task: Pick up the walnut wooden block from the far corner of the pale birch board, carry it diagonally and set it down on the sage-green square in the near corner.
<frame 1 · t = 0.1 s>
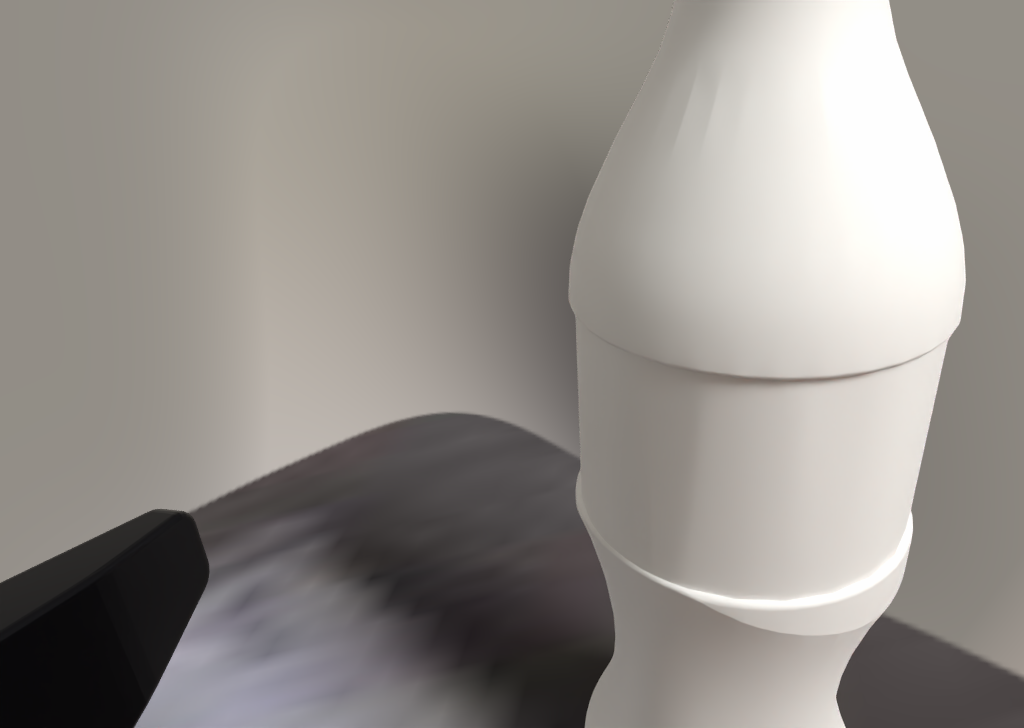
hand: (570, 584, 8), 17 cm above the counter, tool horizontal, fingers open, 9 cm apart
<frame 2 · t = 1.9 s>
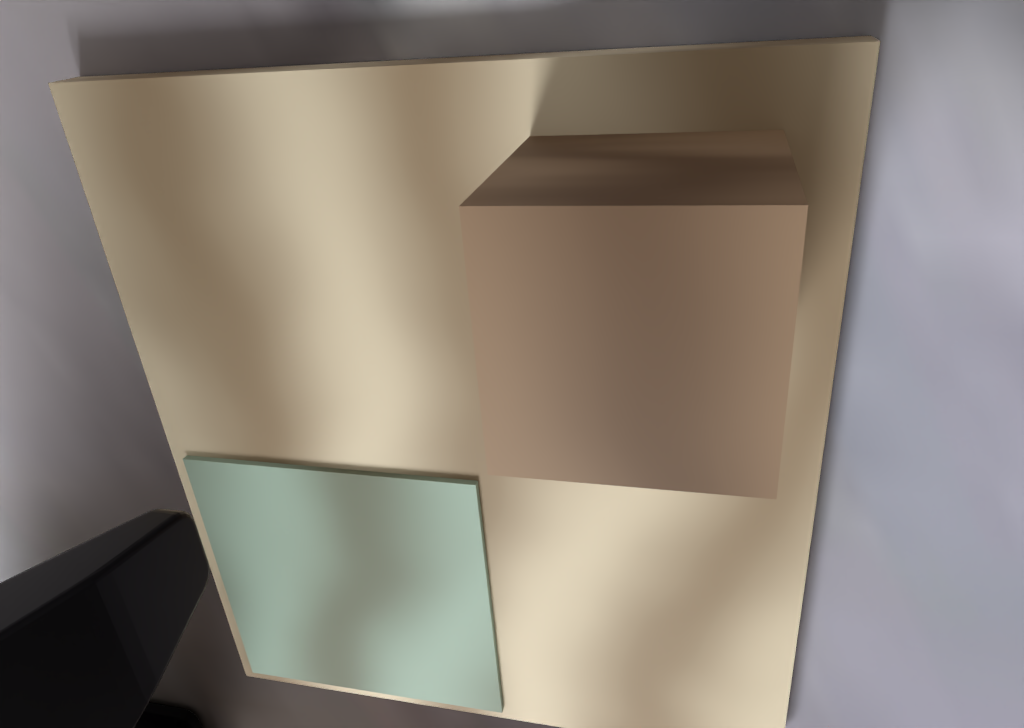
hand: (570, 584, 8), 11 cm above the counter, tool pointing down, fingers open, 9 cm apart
walnut block: (650, 252, 16), point 1 cm above the counter, touching birch board
birch board: (468, 443, 21), on the counter
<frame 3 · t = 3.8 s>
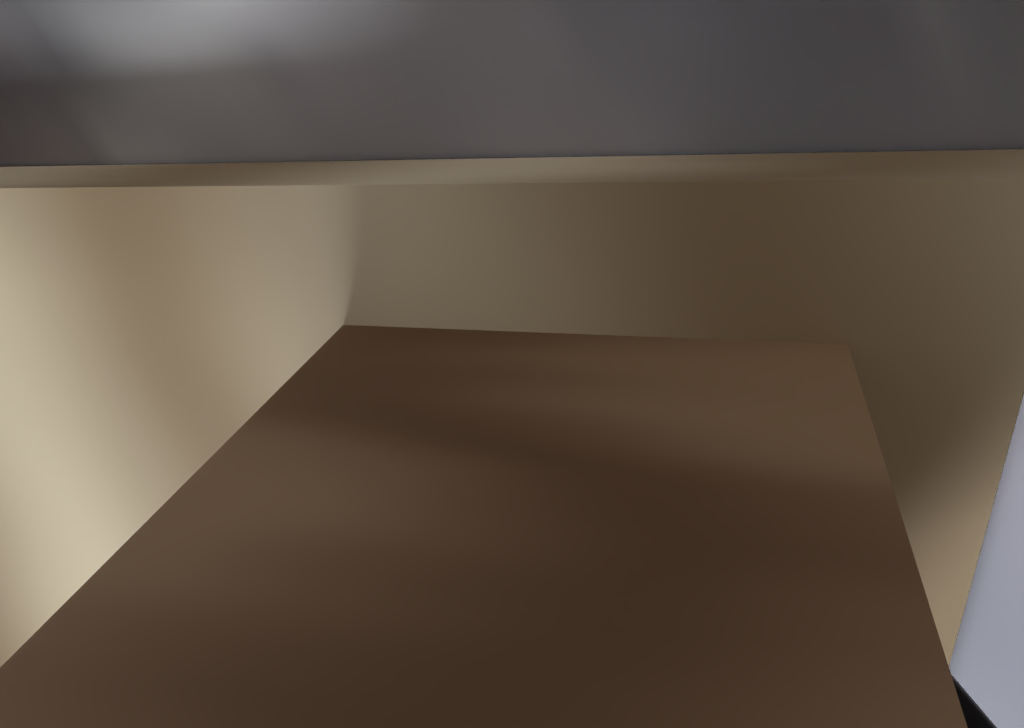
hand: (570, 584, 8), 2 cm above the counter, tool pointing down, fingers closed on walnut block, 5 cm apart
walnut block: (582, 532, 9), point 1 cm above the counter, touching birch board, gripper
when the fingers open (3 cm above the counter, at t = 8.1 s): walnut block drops 2 cm, resting on birch board.
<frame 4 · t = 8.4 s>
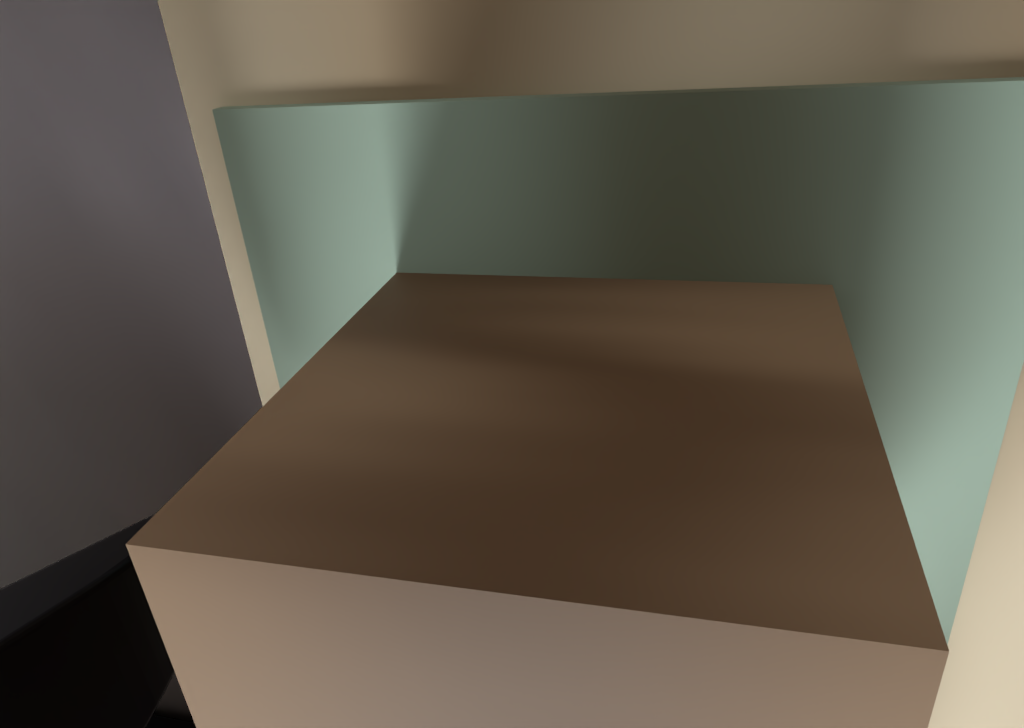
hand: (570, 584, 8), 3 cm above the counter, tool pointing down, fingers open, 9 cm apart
walnut block: (601, 457, 10), point 1 cm above the counter, touching birch board
birch board: (1006, 9, 8), on the counter
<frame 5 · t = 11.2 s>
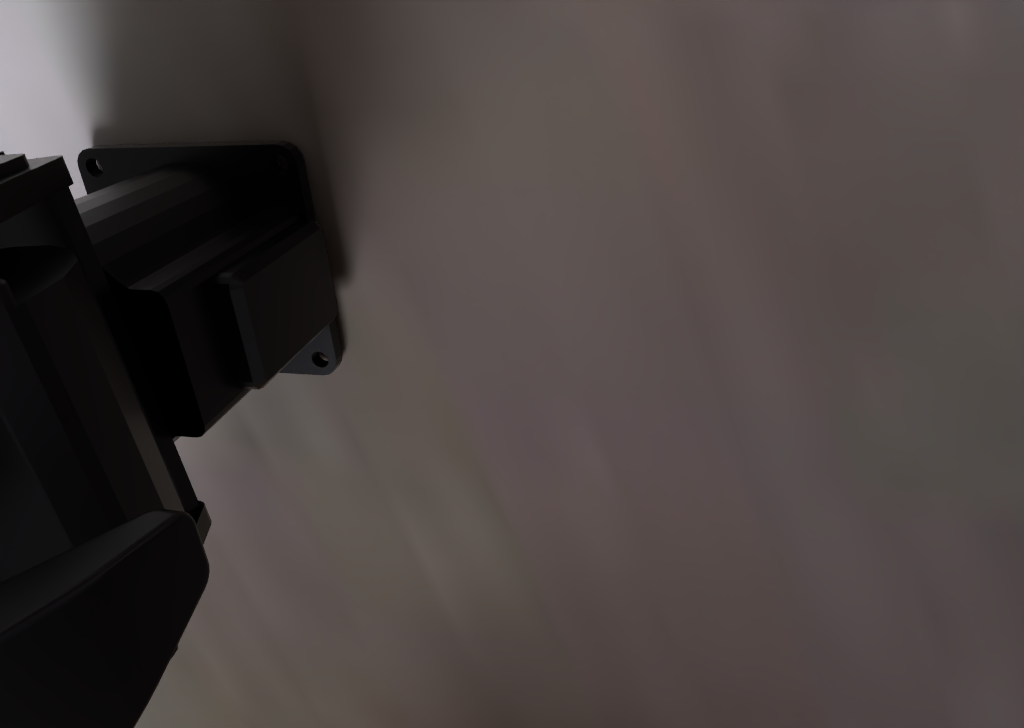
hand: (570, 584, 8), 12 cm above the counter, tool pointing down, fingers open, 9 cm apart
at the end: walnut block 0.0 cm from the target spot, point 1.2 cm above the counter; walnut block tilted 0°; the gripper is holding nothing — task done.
